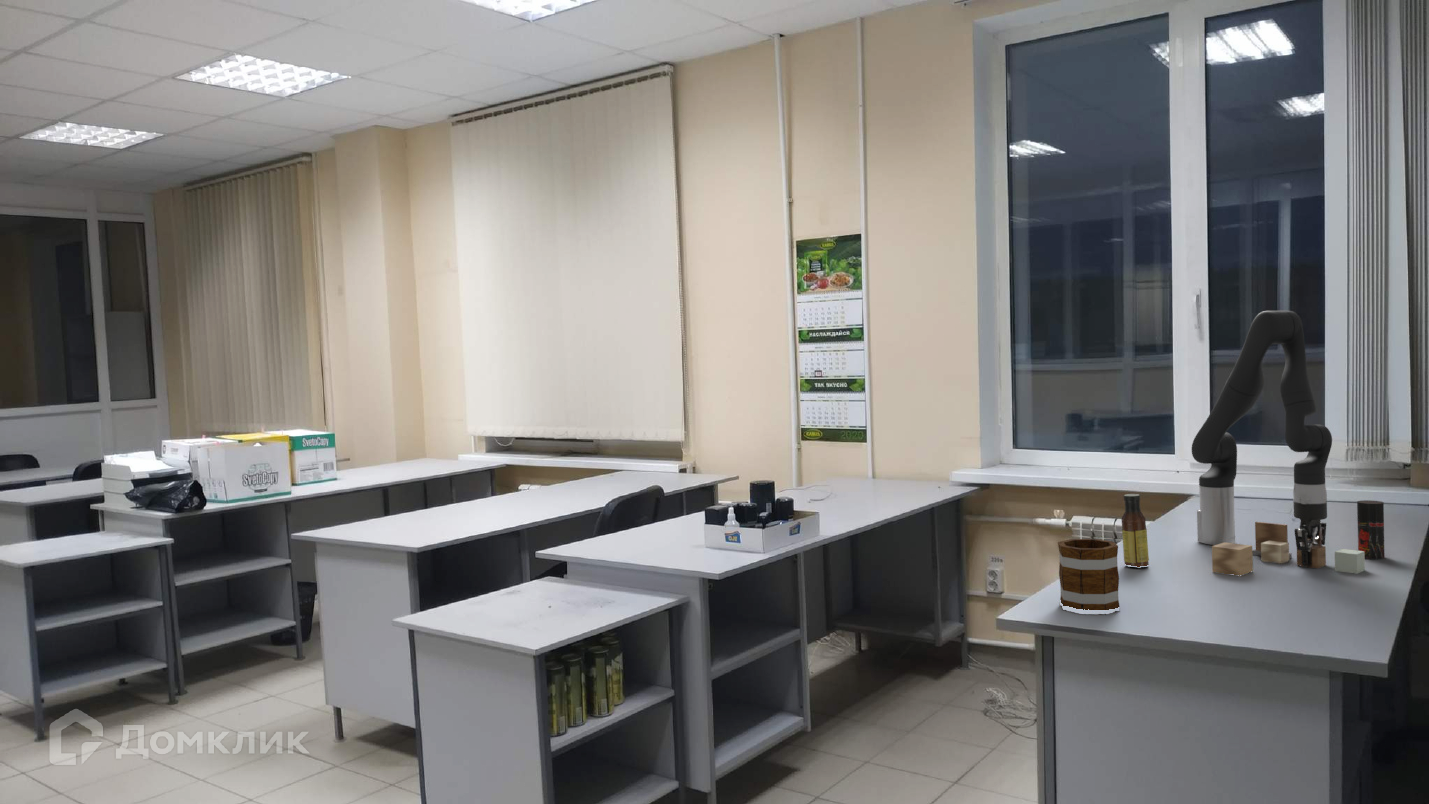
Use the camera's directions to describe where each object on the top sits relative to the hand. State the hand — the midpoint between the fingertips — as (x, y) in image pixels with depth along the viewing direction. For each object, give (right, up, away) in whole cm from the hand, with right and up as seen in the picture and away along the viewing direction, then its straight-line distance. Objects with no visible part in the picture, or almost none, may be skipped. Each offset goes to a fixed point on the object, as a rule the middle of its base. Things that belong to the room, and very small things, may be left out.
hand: (1311, 563), depth 252 cm
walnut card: (-3, 0, +13) cm, 13 cm away
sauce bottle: (-43, -2, +8) cm, 44 cm away
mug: (-69, -5, -28) cm, 74 cm away
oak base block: (-23, -2, -3) cm, 23 cm away
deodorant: (+20, +1, +6) cm, 21 cm away
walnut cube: (0, 0, 0) cm, 0 cm away
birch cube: (-5, -1, +7) cm, 9 cm away
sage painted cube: (+5, -1, -7) cm, 9 cm away
